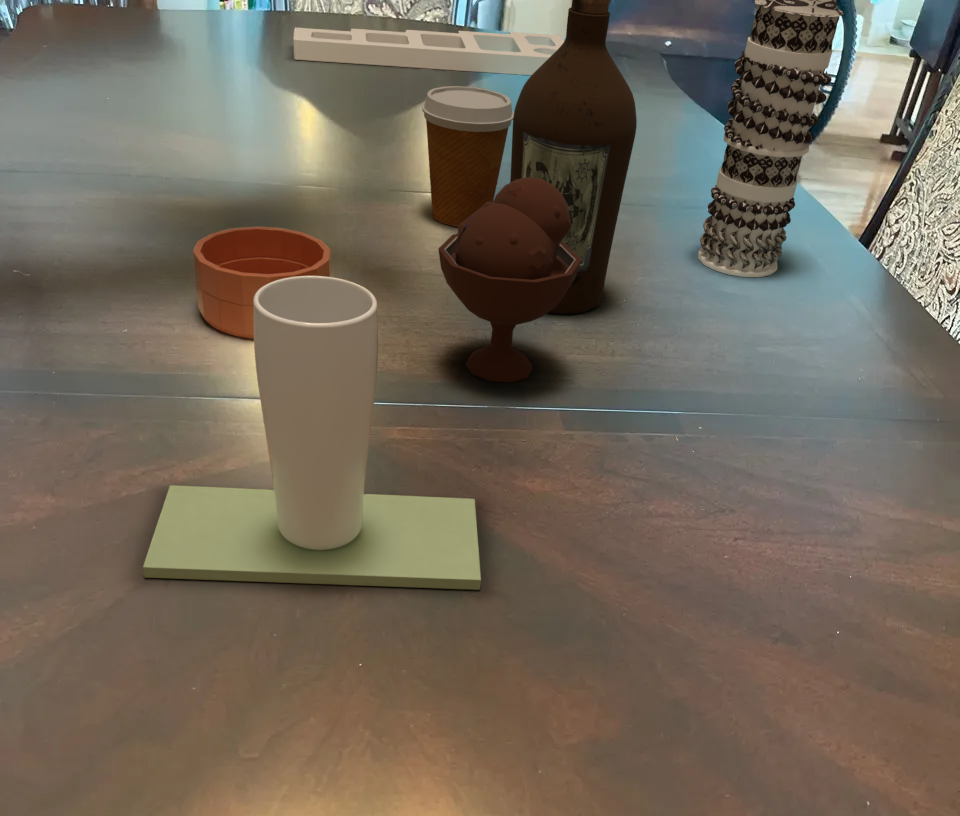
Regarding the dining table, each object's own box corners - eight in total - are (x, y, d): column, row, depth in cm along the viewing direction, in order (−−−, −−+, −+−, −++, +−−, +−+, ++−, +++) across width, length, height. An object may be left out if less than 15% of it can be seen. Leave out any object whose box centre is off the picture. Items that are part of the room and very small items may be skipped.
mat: (144, 577, 62) (142, 567, 62) (171, 495, 69) (169, 484, 69) (480, 590, 64) (481, 579, 63) (473, 508, 71) (474, 498, 70)
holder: (293, 59, 163) (293, 39, 161) (296, 34, 177) (295, 16, 175) (577, 78, 169) (579, 59, 167) (558, 52, 183) (560, 35, 181)
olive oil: (509, 266, 105) (539, -27, 89) (614, 283, 104) (663, -11, 87) (486, 306, 97) (514, -8, 81) (599, 325, 95) (650, 10, 79)
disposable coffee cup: (488, 239, 110) (499, 115, 102) (404, 222, 112) (408, 99, 104) (515, 212, 117) (527, 95, 109) (435, 197, 119) (441, 80, 111)
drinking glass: (345, 573, 63) (345, 336, 53) (244, 543, 64) (227, 307, 55) (391, 516, 68) (399, 290, 58) (297, 490, 69) (289, 265, 60)
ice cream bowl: (481, 327, 93) (496, 148, 83) (588, 368, 89) (618, 183, 79) (406, 366, 86) (414, 175, 77) (519, 411, 82) (542, 215, 72)
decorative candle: (684, 266, 109) (743, -14, 93) (703, 239, 115) (761, -26, 99) (772, 285, 107) (848, 2, 90) (786, 257, 113) (859, -12, 97)
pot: (190, 337, 87) (183, 271, 83) (210, 284, 95) (205, 222, 92) (326, 344, 88) (325, 280, 84) (334, 291, 96) (333, 231, 93)
